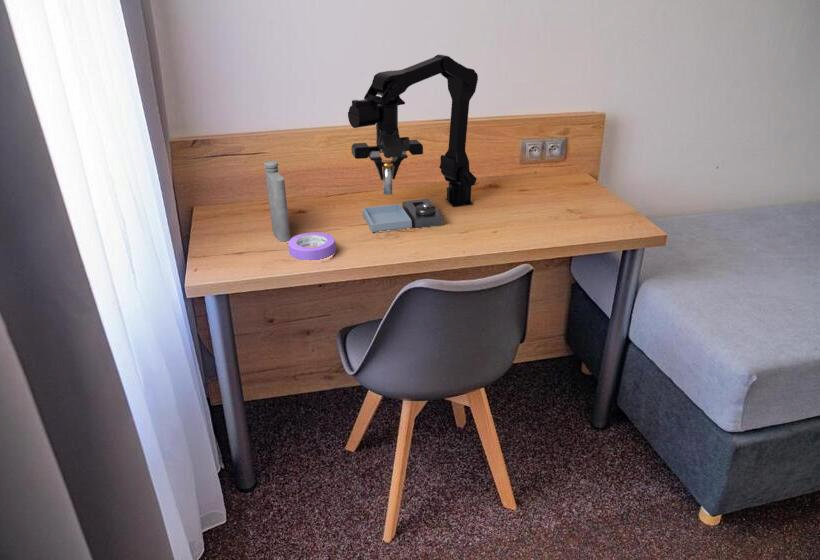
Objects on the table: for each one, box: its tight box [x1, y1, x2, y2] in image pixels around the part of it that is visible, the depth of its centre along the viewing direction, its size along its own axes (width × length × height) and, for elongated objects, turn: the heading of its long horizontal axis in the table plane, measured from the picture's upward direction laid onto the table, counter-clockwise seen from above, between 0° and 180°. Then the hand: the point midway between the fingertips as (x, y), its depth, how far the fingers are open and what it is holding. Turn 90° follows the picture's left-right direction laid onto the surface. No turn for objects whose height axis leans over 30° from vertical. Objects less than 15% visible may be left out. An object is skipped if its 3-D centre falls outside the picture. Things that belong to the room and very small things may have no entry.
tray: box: [362, 203, 413, 233], centre depth 178 cm, size 11×13×2 cm
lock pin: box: [382, 159, 394, 196], centre depth 173 cm, size 4×4×9 cm
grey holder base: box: [401, 198, 444, 229], centre depth 180 cm, size 8×14×5 cm, turn 15°
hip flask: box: [263, 160, 292, 242], centre depth 168 cm, size 16×4×20 cm, turn 18°
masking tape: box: [288, 231, 336, 261], centre depth 160 cm, size 12×12×4 cm
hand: (387, 179), depth 173 cm, fingers closed on lock pin, 3 cm apart
